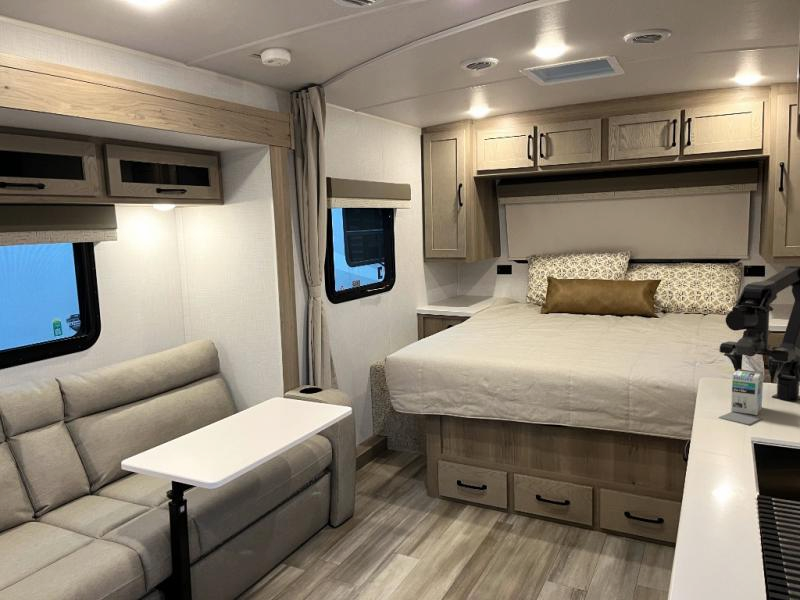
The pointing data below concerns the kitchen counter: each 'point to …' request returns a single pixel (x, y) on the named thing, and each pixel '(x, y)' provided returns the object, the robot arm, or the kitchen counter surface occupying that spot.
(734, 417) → the mat
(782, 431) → the kitchen counter surface
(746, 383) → the light bulb box
